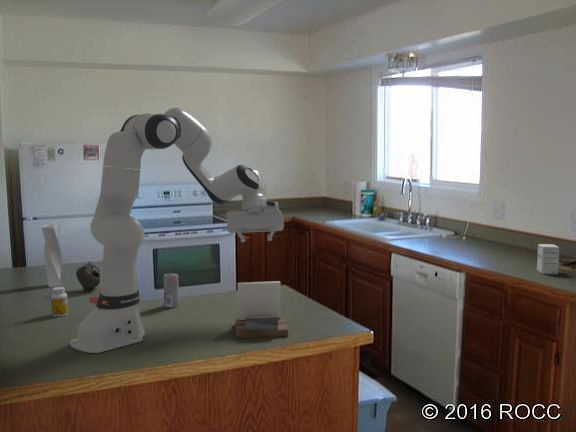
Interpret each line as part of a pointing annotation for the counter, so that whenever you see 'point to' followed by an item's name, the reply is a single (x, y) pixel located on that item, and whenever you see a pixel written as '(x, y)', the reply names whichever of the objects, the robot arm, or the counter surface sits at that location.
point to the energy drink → (171, 290)
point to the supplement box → (548, 259)
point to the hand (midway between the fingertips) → (256, 240)
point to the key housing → (261, 326)
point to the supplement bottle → (59, 302)
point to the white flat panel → (259, 298)
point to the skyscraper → (52, 254)
